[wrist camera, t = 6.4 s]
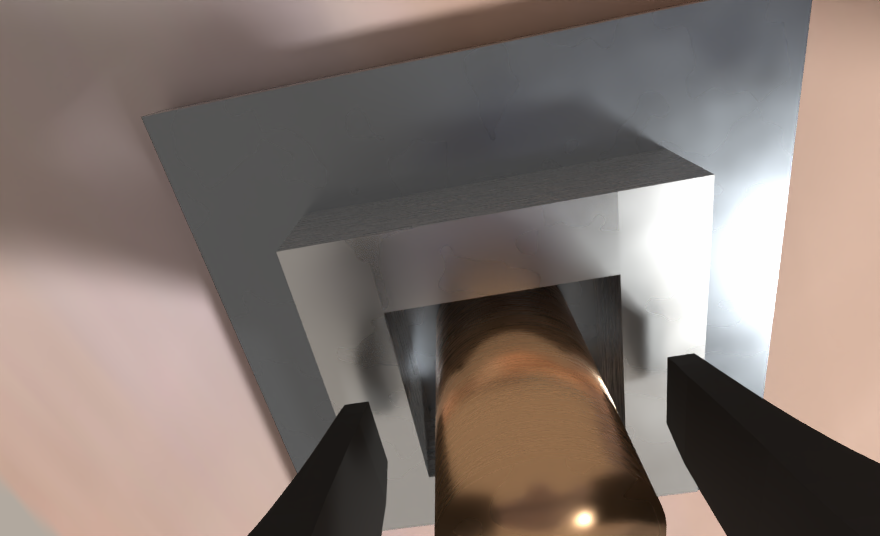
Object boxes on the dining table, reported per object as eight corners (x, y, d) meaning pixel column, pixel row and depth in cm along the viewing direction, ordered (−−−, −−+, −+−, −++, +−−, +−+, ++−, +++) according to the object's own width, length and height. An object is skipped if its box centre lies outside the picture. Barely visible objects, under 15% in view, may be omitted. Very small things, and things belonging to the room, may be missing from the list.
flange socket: (786, -18, 12) (911, -35, 9) (737, 461, 19) (797, 548, 16) (161, 110, 13) (73, 136, 10) (330, 513, 20) (309, 604, 17)
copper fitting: (570, 259, 14) (679, 449, 8) (567, 373, 16) (655, 604, 9) (429, 272, 14) (422, 468, 8) (442, 383, 16) (445, 617, 10)
